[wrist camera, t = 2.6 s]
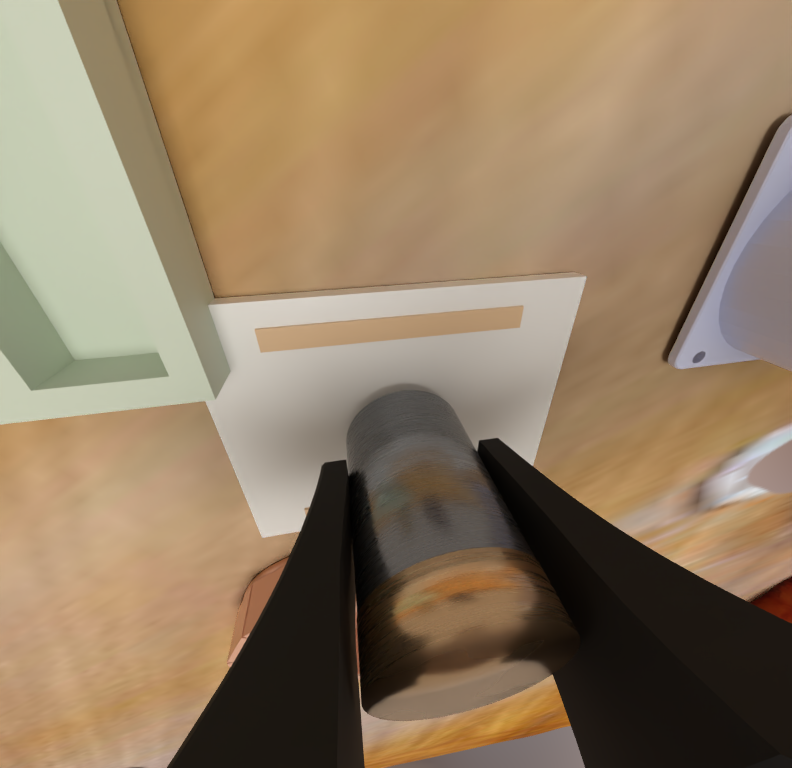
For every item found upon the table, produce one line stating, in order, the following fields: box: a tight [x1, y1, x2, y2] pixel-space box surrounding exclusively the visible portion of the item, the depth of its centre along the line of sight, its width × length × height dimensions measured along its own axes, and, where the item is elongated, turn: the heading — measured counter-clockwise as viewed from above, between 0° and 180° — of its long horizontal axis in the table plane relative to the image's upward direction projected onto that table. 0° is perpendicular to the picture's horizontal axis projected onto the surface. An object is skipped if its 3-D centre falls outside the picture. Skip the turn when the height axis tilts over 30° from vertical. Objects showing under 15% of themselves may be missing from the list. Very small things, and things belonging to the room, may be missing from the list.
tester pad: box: [205, 272, 587, 538], centre depth 12 cm, size 12×10×1 cm
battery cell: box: [346, 390, 581, 721], centre depth 8 cm, size 4×4×6 cm
